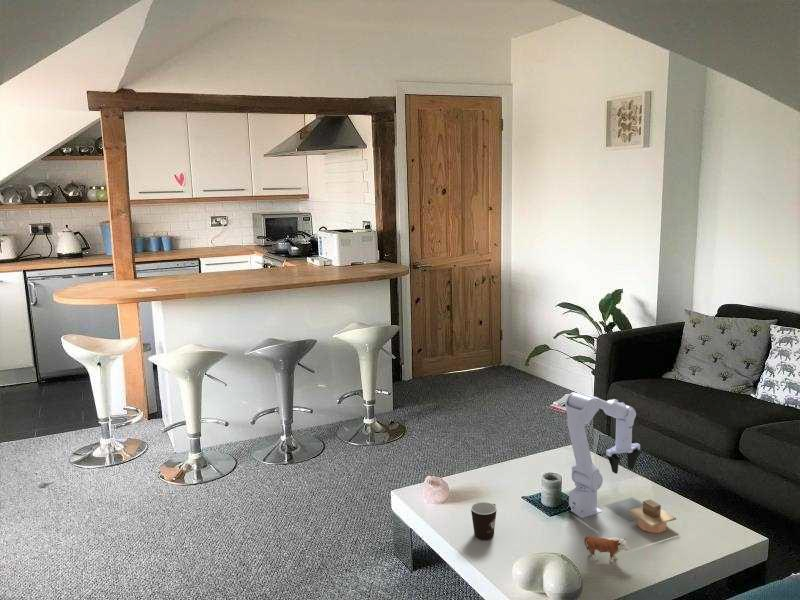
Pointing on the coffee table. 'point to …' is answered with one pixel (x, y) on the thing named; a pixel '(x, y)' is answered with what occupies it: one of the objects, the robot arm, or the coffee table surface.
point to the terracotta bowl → (653, 529)
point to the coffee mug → (483, 520)
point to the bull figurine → (605, 546)
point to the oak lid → (651, 513)
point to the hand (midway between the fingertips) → (622, 470)
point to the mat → (624, 507)
